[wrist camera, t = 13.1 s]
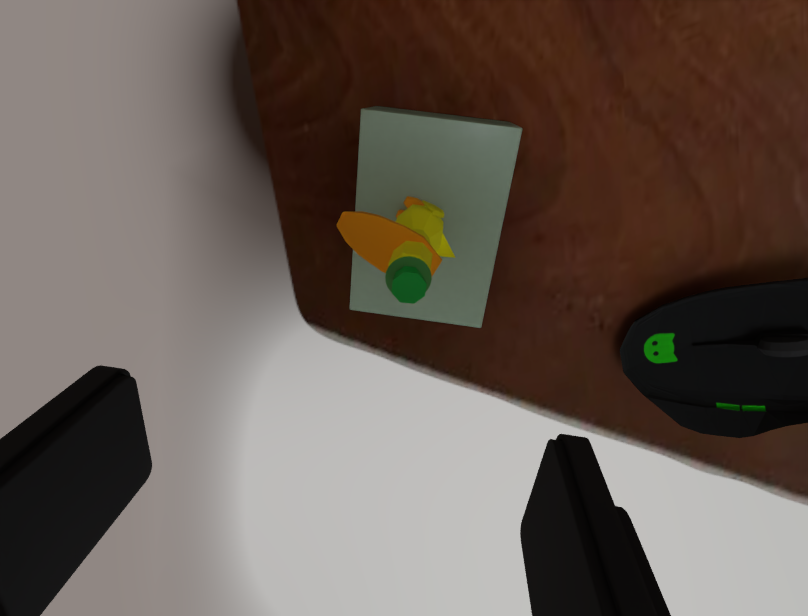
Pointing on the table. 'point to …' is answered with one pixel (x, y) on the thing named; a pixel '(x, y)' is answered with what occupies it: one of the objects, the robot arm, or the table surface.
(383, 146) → the green box
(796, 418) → the computer mouse
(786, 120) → the table surface
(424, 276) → the toy figure
